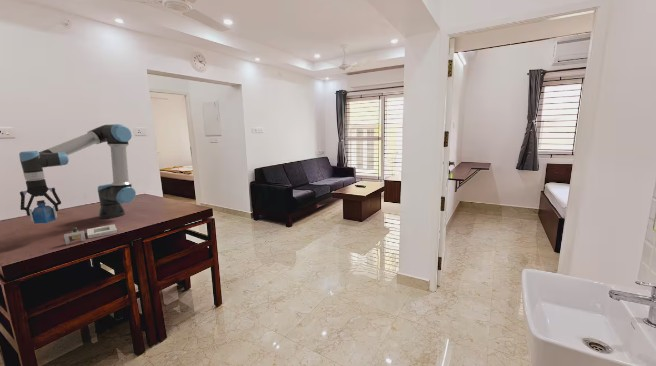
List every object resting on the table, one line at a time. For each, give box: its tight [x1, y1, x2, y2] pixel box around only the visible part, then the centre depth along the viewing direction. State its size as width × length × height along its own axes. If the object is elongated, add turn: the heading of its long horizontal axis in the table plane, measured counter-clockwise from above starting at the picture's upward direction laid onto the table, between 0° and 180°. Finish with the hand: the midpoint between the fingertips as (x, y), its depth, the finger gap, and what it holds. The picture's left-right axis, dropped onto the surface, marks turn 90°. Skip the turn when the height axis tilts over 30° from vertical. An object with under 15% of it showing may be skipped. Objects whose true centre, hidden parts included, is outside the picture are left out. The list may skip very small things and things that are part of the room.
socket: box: [86, 223, 118, 239], centre depth 169 cm, size 14×14×2 cm
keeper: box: [63, 230, 86, 246], centre depth 155 cm, size 2×8×5 cm, turn 131°
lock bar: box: [71, 226, 80, 241], centre depth 162 cm, size 8×3×5 cm, turn 41°
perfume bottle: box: [32, 199, 57, 224], centre depth 157 cm, size 6×6×12 cm
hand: (44, 218), depth 158 cm, fingers closed on perfume bottle, 9 cm apart
